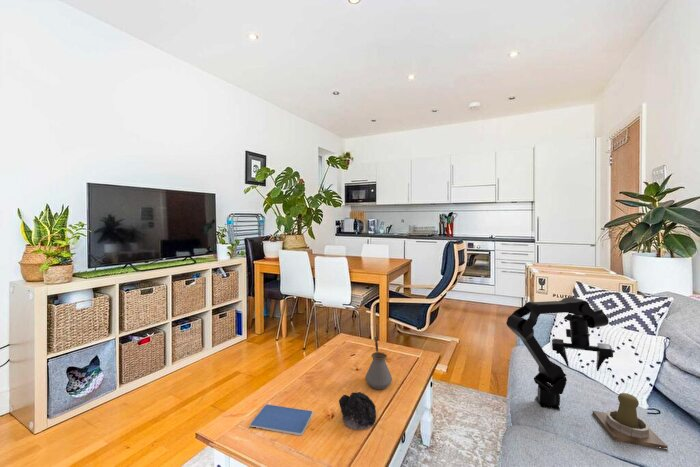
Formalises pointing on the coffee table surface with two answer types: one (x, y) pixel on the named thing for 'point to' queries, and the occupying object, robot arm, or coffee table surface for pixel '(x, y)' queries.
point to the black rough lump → (358, 411)
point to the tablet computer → (282, 419)
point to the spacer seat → (628, 430)
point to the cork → (627, 410)
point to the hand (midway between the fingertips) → (582, 368)
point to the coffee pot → (378, 371)
